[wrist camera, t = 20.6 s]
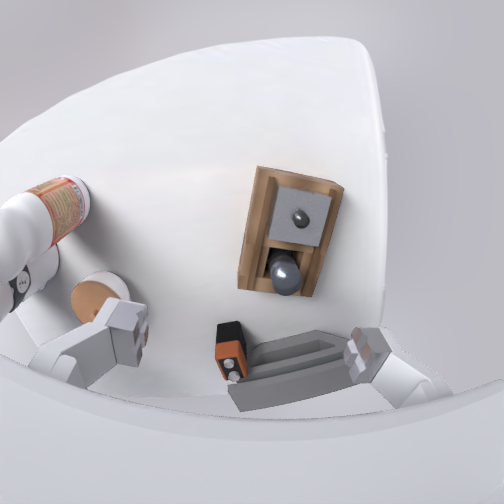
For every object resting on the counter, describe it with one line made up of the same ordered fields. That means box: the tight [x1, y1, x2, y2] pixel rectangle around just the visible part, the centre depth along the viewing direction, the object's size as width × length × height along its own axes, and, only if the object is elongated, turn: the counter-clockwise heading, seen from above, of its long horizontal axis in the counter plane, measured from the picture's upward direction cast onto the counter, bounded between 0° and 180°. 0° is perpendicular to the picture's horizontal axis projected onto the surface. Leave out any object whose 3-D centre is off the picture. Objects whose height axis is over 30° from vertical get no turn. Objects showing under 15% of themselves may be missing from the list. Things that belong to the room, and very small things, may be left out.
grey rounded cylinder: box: [267, 247, 302, 296], centre depth 41 cm, size 4×4×10 cm
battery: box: [215, 321, 248, 382], centre depth 48 cm, size 4×7×10 cm, turn 12°
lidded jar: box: [71, 271, 131, 324], centre depth 43 cm, size 11×11×9 cm
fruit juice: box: [0, 175, 90, 282], centre depth 27 cm, size 9×9×28 cm
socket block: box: [238, 166, 344, 297], centre depth 41 cm, size 12×18×6 cm, turn 170°
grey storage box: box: [228, 330, 360, 412], centre depth 51 cm, size 25×8×11 cm, turn 105°
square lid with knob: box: [267, 183, 332, 247], centre depth 36 cm, size 7×7×4 cm
